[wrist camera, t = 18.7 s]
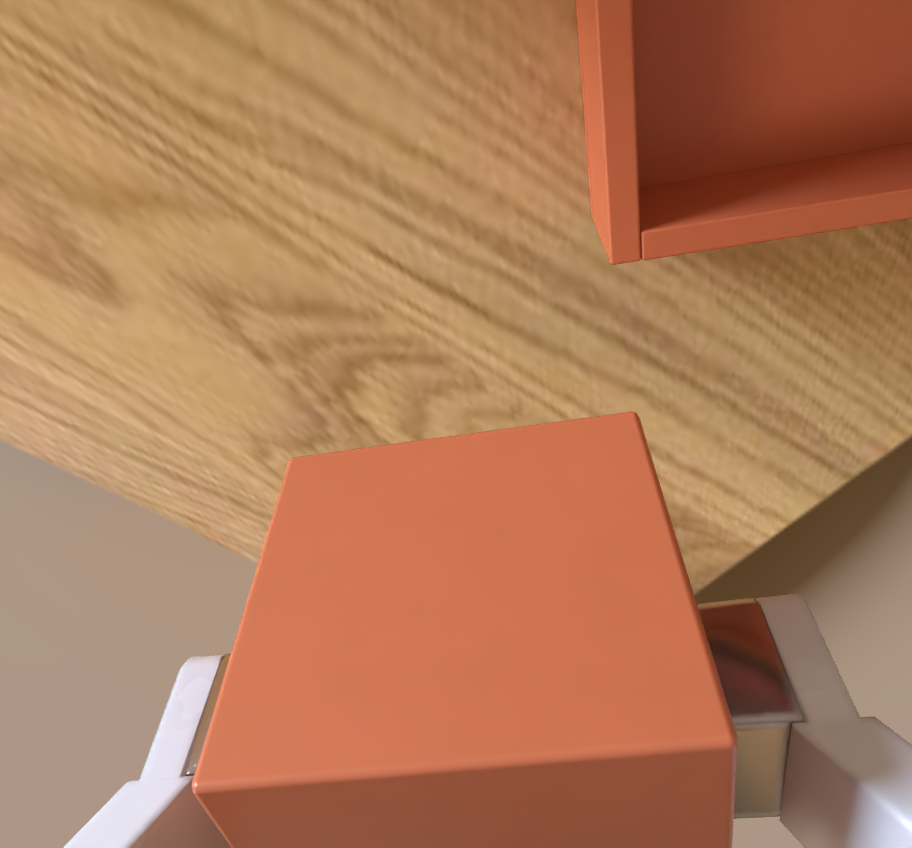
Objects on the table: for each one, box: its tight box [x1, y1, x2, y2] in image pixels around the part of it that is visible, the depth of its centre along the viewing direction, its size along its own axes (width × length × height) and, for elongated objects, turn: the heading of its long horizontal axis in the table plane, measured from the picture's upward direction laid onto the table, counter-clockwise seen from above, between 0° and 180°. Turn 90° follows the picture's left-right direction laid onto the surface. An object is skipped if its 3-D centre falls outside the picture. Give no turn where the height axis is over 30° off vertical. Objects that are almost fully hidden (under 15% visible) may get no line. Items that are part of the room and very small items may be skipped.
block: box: [192, 412, 738, 848], centre depth 9 cm, size 4×4×4 cm
